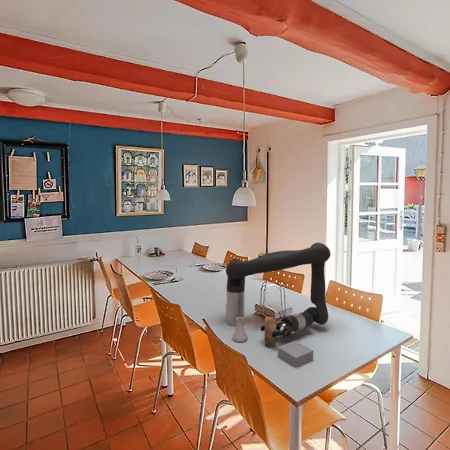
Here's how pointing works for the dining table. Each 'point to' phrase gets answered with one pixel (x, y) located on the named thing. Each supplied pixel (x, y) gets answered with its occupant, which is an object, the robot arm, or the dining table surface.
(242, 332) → the flask
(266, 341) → the walnut cylinder
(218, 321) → the dining table surface
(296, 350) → the slate plinth
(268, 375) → the dining table surface
